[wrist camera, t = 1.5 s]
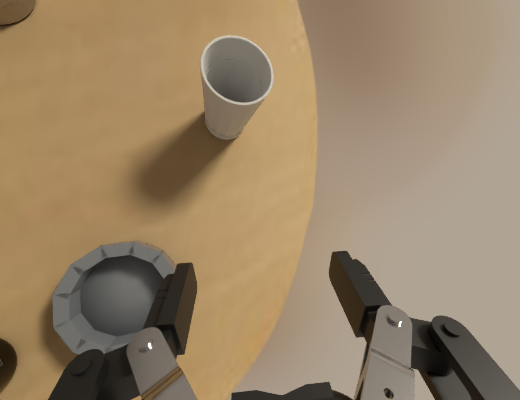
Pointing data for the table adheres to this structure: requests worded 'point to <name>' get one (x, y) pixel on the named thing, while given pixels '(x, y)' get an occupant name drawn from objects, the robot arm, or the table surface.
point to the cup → (233, 83)
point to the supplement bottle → (6, 363)
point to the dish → (108, 295)
